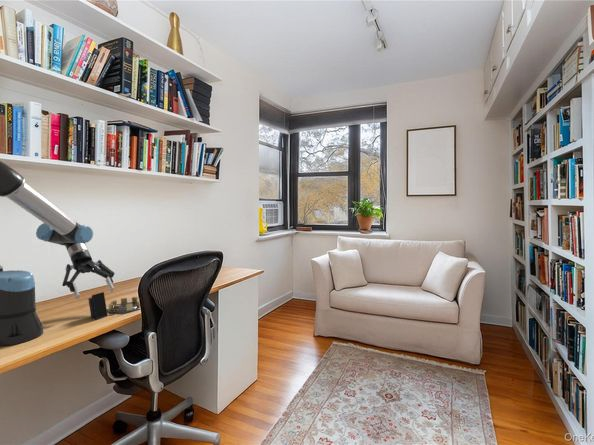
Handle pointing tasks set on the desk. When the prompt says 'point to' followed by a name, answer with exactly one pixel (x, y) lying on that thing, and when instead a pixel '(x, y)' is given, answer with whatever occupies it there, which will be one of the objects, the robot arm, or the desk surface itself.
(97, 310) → the speaker
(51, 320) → the desk surface
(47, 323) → the desk surface
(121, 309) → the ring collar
